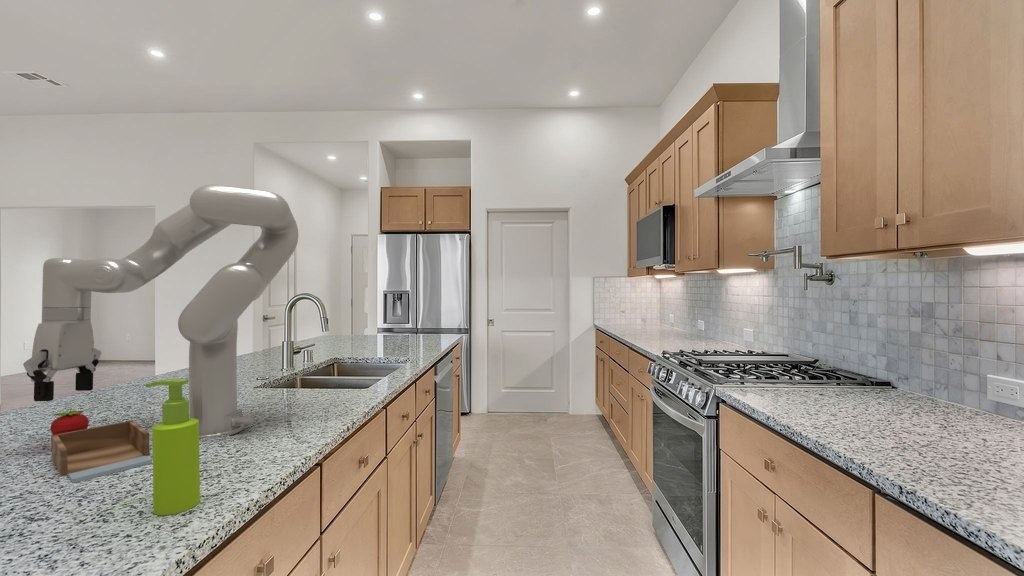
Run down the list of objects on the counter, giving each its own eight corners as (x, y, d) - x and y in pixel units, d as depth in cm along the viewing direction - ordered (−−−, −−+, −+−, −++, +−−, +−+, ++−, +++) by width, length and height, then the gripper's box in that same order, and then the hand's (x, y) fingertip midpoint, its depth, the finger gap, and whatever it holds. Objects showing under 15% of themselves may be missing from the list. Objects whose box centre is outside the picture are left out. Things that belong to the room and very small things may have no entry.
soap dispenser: (163, 498, 73) (161, 376, 73) (207, 496, 74) (206, 375, 74) (136, 517, 67) (134, 384, 67) (185, 514, 68) (183, 383, 68)
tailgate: (66, 473, 81) (71, 479, 78) (145, 455, 90) (152, 459, 86) (67, 477, 81) (71, 483, 78) (145, 458, 90) (152, 463, 86)
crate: (51, 462, 89) (51, 435, 89) (132, 445, 99) (132, 420, 99) (61, 481, 80) (61, 450, 80) (149, 459, 90) (149, 432, 90)
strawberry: (47, 458, 92) (46, 409, 92) (54, 448, 98) (53, 402, 98) (86, 451, 95) (86, 404, 95) (91, 442, 101) (90, 398, 101)
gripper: (82, 313, 105) (80, 387, 104) (6, 318, 87) (4, 405, 87) (116, 314, 105) (115, 386, 105) (48, 318, 88) (46, 405, 88)
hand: (64, 395), depth 96 cm, fingers open, 9 cm apart
